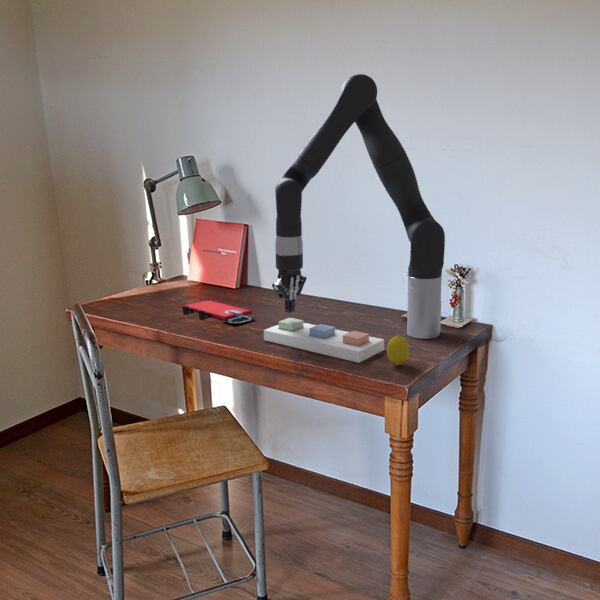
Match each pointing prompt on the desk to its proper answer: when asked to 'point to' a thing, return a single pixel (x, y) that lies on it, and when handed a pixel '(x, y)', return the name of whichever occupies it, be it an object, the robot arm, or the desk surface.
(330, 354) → the button panel
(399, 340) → the lemon
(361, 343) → the terracotta button
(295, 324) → the sage button
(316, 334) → the slate button
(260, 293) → the desk surface
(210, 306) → the red board with handle
